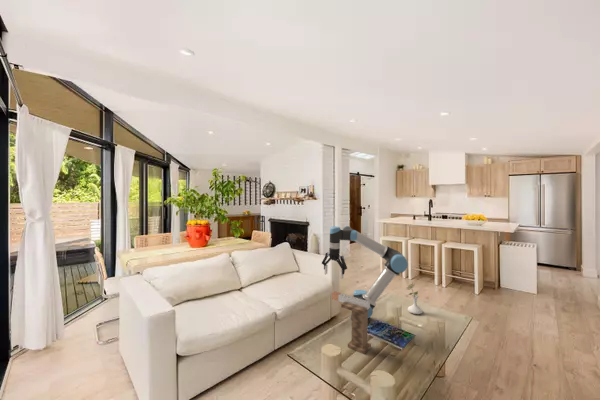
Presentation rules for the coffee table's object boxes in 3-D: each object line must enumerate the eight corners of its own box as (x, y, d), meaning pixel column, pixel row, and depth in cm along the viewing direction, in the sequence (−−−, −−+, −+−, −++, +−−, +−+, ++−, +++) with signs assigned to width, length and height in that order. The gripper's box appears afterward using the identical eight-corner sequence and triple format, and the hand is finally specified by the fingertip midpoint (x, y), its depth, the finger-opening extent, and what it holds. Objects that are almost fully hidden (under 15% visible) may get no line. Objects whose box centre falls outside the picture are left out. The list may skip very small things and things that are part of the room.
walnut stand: (341, 344, 181) (341, 304, 179) (347, 337, 189) (348, 298, 186) (364, 354, 170) (365, 311, 168) (370, 346, 178) (371, 305, 176)
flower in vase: (418, 308, 229) (419, 280, 227) (425, 315, 218) (426, 285, 216) (403, 308, 229) (404, 280, 227) (409, 315, 218) (410, 285, 216)
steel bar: (331, 299, 186) (331, 293, 186) (334, 296, 190) (334, 291, 189) (367, 310, 170) (367, 303, 170) (369, 307, 174) (370, 301, 173)
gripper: (317, 245, 201) (316, 273, 203) (347, 252, 186) (346, 281, 188) (322, 244, 207) (322, 270, 208) (352, 249, 192) (351, 278, 194)
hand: (333, 276), depth 198 cm, fingers open, 13 cm apart
